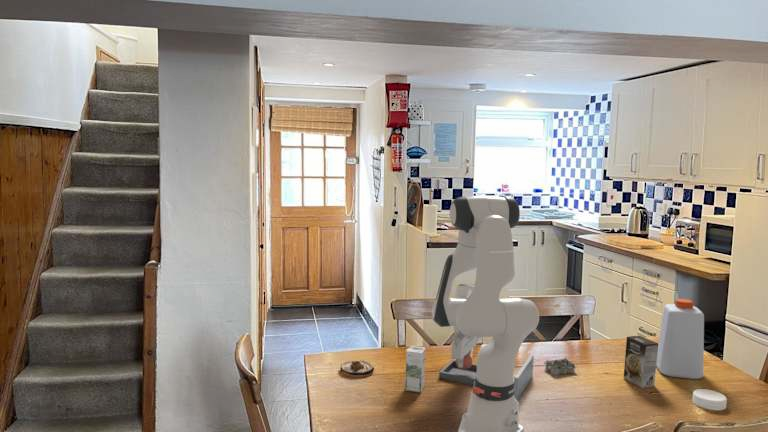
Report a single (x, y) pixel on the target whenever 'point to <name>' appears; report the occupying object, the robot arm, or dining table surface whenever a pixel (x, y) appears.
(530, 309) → the robot arm
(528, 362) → the slate plastic wall
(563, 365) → the egg carton
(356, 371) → the dark rimmed plate
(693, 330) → the plastic bottle
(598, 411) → the dining table surface
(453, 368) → the charcoal tray
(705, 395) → the white round lid
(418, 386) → the syrup box
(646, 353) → the coffee box
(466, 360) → the rubber ball
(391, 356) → the dining table surface
